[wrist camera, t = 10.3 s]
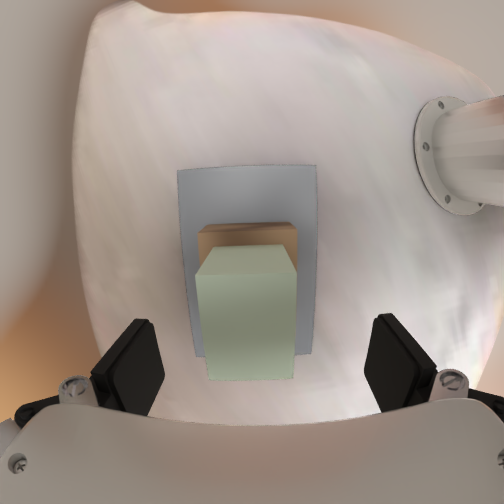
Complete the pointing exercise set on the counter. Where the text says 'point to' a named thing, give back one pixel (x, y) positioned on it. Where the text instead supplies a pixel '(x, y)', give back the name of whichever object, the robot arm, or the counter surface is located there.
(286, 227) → the walnut base block
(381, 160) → the counter surface
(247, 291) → the sage block
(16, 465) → the robot arm
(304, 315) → the slate baseplate
